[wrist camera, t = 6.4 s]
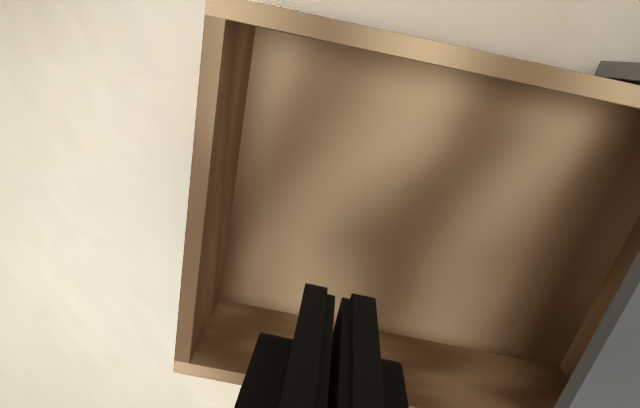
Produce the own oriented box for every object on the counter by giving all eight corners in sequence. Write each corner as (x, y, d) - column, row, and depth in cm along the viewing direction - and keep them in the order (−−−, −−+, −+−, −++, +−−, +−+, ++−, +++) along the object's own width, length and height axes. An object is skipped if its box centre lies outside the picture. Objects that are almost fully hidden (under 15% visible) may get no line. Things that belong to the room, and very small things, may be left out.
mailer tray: (699, 106, 17) (840, 128, 12) (560, 369, 22) (621, 458, 17) (246, 8, 16) (207, -9, 12) (210, 300, 21) (173, 371, 17)
